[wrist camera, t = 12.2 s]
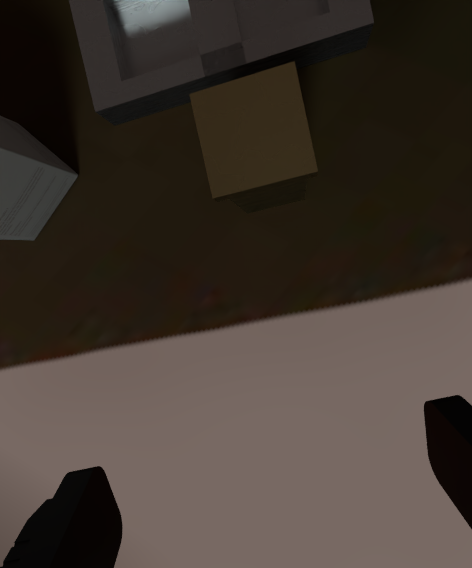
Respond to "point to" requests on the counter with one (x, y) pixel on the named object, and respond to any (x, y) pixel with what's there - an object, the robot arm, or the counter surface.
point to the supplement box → (28, 182)
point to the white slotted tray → (203, 45)
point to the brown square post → (256, 139)
